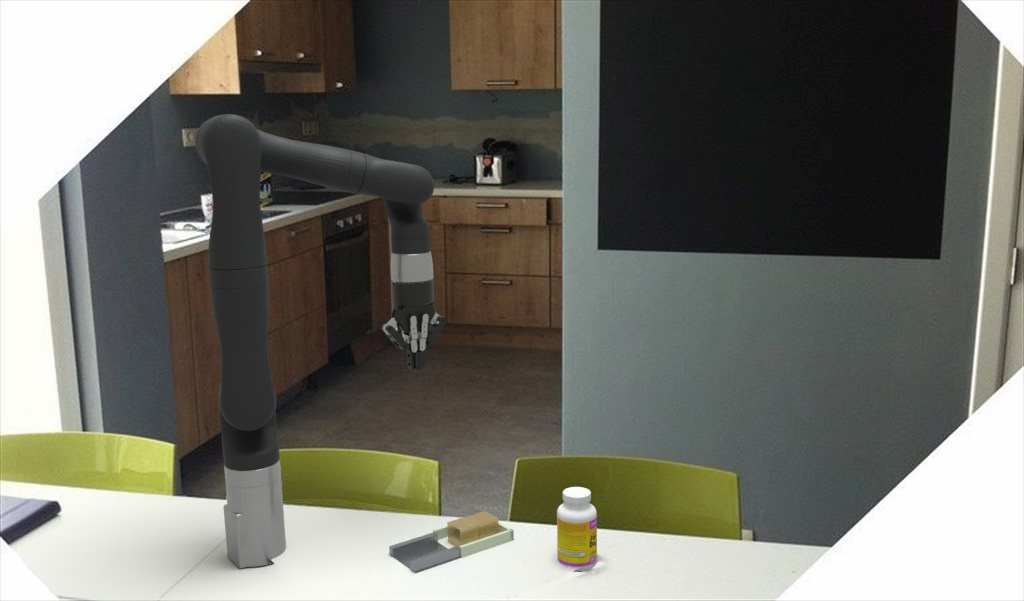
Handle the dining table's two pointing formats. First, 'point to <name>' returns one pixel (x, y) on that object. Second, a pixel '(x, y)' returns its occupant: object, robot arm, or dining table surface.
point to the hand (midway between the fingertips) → (416, 370)
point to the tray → (481, 540)
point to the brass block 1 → (463, 531)
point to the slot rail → (423, 553)
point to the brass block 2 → (486, 524)
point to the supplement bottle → (577, 530)
